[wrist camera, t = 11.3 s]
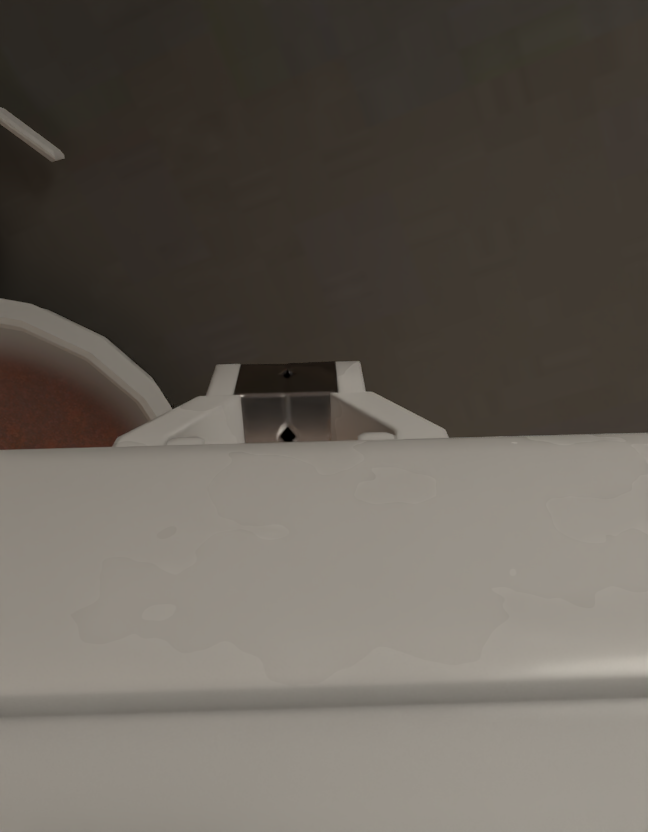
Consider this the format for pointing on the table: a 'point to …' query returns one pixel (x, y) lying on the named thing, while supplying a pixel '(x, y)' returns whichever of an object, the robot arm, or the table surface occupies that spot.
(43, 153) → the frying pan
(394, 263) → the table surface
